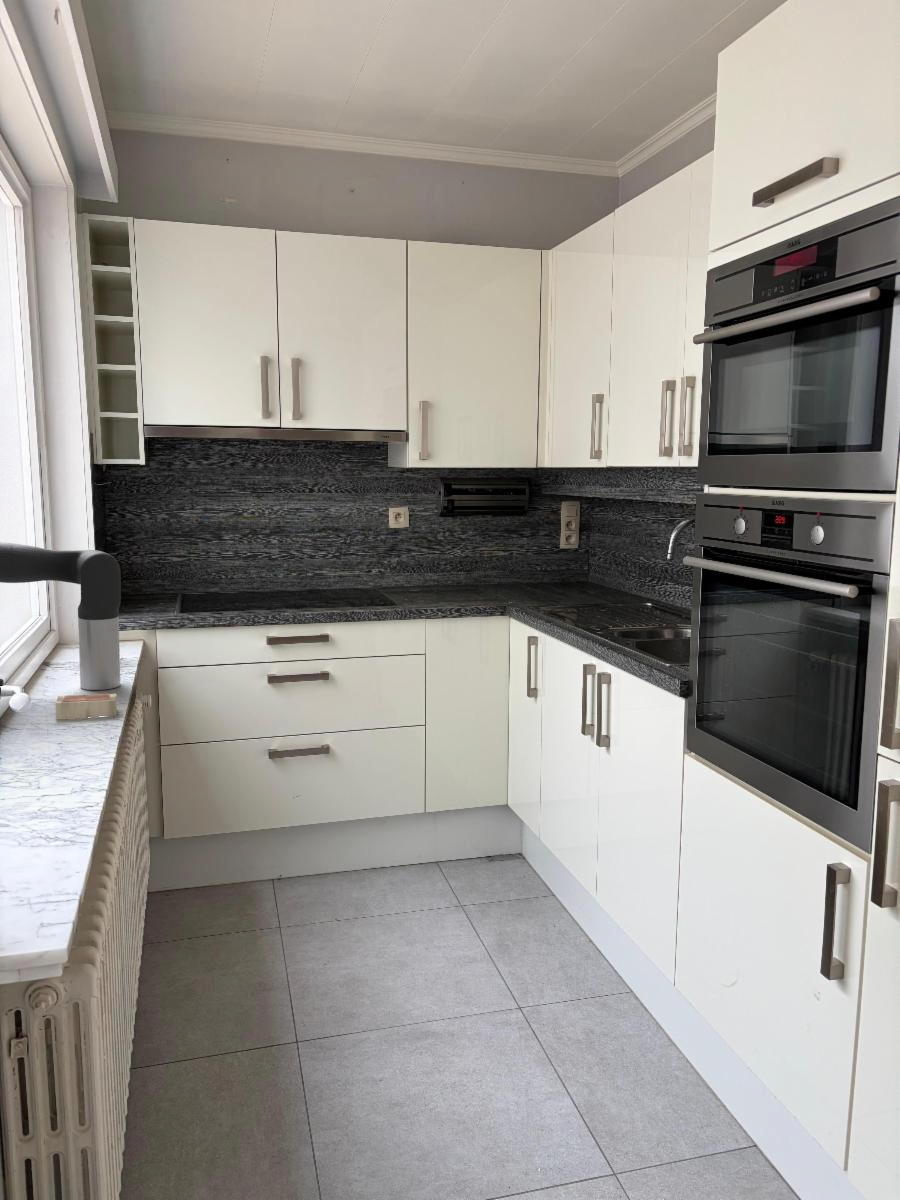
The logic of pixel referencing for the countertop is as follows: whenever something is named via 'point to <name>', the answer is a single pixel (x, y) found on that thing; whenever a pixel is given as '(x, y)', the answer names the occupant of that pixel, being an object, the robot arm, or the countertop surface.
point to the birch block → (86, 706)
